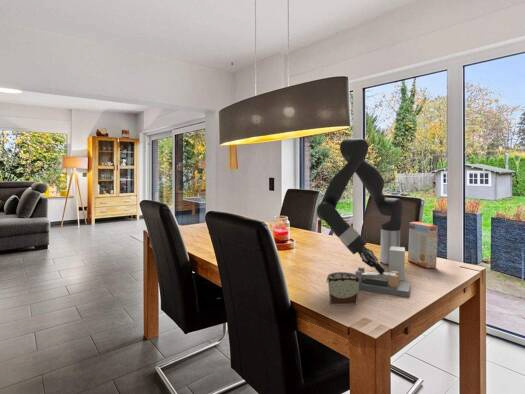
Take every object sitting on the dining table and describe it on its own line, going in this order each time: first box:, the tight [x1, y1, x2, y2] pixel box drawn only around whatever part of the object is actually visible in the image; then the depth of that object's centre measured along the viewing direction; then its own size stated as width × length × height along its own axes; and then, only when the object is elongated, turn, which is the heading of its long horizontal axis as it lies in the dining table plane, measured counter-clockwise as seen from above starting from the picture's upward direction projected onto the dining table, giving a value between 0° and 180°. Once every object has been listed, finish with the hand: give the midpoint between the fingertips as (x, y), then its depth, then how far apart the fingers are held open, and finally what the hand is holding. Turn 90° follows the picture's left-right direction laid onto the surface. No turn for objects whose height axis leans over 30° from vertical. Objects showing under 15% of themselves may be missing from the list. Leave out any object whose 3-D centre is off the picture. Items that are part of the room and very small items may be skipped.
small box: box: [388, 246, 406, 281], centre depth 149 cm, size 8×6×13 cm
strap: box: [362, 271, 396, 279], centre depth 137 cm, size 4×2×15 cm
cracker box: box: [407, 221, 439, 269], centre depth 169 cm, size 14×6×21 cm, turn 13°
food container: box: [326, 271, 361, 306], centre depth 122 cm, size 12×6×10 cm, turn 92°
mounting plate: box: [355, 266, 411, 298], centre depth 137 cm, size 12×26×6 cm, turn 64°
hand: (383, 272), depth 136 cm, fingers closed
